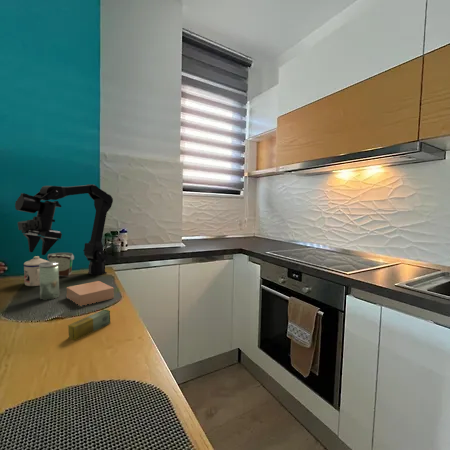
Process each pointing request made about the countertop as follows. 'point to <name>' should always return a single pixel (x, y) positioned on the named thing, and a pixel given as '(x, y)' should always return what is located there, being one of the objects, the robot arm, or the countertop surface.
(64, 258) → the food container
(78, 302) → the terracotta base
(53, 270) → the sage tin
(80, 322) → the medication box
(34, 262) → the teacup with lid
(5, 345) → the countertop surface
